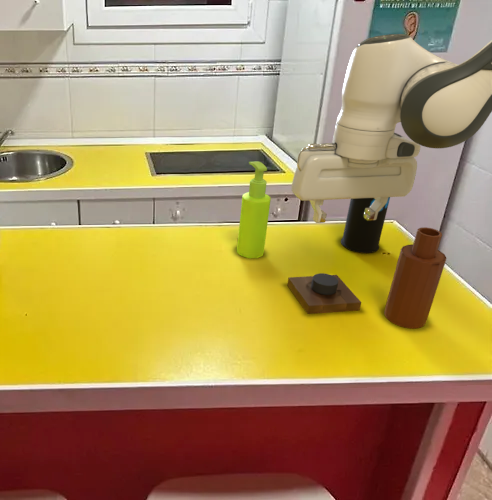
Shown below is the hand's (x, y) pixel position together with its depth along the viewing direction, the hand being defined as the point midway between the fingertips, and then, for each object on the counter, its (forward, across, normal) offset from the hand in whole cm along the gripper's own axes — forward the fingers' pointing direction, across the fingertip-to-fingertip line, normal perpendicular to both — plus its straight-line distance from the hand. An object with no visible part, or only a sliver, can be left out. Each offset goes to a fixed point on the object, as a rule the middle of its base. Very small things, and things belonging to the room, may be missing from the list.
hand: (344, 220), depth 90 cm
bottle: (+16, +11, -7) cm, 21 cm away
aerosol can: (+17, +18, +21) cm, 32 cm away
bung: (+17, 0, +1) cm, 17 cm away
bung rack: (+17, 0, +1) cm, 17 cm away
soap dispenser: (+17, -8, +21) cm, 28 cm away
